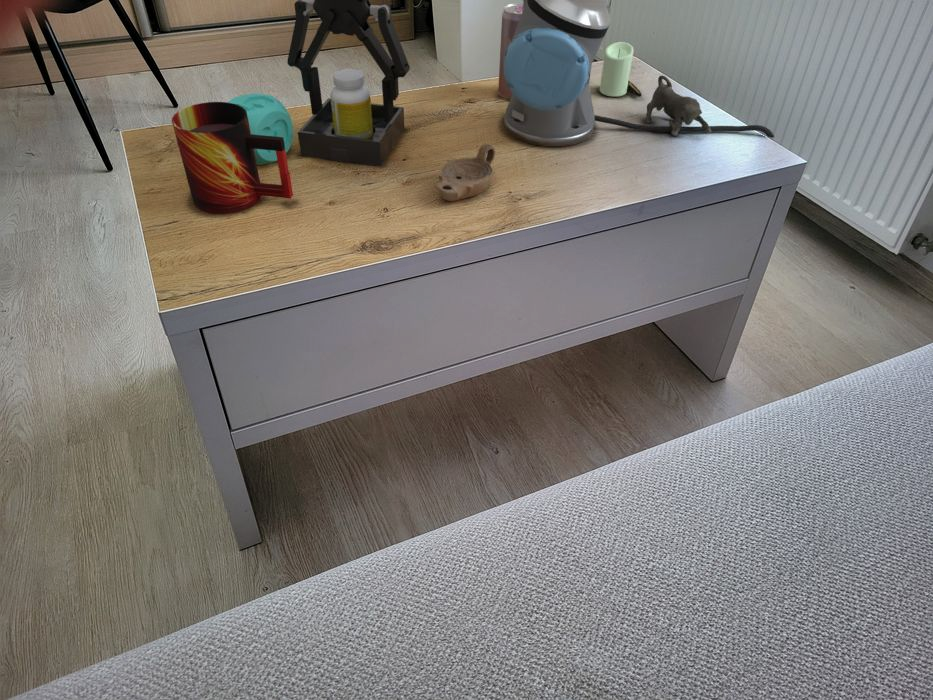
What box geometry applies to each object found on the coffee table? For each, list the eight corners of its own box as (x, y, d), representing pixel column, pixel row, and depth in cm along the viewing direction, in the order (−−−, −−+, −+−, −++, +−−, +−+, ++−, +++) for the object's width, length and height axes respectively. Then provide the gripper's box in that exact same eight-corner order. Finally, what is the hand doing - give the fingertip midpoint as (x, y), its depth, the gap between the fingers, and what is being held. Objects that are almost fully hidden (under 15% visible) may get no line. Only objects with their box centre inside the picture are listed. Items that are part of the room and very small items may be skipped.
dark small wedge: (609, 73, 142) (608, 65, 141) (614, 71, 142) (614, 64, 141) (638, 100, 131) (638, 92, 130) (644, 98, 132) (644, 90, 131)
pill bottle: (381, 141, 117) (377, 74, 110) (352, 154, 113) (346, 85, 106) (356, 130, 120) (350, 63, 113) (327, 142, 116) (319, 74, 109)
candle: (620, 99, 131) (627, 53, 126) (595, 92, 133) (601, 47, 128) (630, 90, 135) (638, 45, 129) (605, 84, 136) (612, 39, 131)
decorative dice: (224, 155, 112) (213, 105, 107) (263, 137, 117) (254, 88, 112) (259, 170, 109) (249, 120, 103) (297, 151, 113) (290, 102, 108)
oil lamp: (460, 215, 101) (461, 183, 97) (419, 198, 104) (418, 166, 101) (512, 179, 109) (514, 148, 105) (473, 164, 112) (474, 134, 108)
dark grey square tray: (405, 129, 120) (404, 118, 119) (381, 166, 111) (380, 154, 109) (330, 120, 122) (328, 109, 121) (300, 156, 113) (298, 144, 111)
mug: (295, 205, 102) (282, 125, 94) (193, 218, 99) (171, 136, 91) (288, 173, 108) (275, 96, 100) (192, 184, 105) (172, 105, 97)
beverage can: (530, 89, 134) (537, 3, 124) (529, 102, 130) (536, 14, 120) (499, 87, 135) (503, 2, 125) (497, 100, 130) (501, 12, 120)
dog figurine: (638, 118, 126) (646, 76, 121) (663, 112, 128) (672, 70, 123) (685, 146, 118) (696, 102, 113) (711, 139, 120) (722, 95, 115)
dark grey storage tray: (404, 129, 120) (403, 106, 118) (381, 166, 111) (379, 142, 108) (330, 121, 122) (327, 98, 120) (300, 156, 113) (297, 132, 110)
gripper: (246, -37, 98) (273, 117, 113) (413, -24, 94) (418, 133, 109) (269, -50, 103) (292, 98, 118) (428, -39, 100) (431, 112, 114)
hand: (353, 115), depth 113 cm, fingers open, 11 cm apart
